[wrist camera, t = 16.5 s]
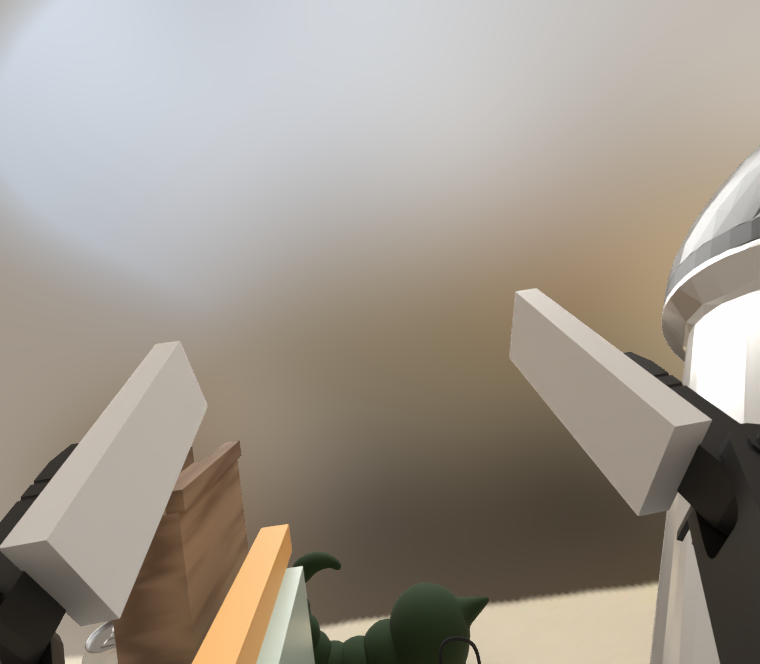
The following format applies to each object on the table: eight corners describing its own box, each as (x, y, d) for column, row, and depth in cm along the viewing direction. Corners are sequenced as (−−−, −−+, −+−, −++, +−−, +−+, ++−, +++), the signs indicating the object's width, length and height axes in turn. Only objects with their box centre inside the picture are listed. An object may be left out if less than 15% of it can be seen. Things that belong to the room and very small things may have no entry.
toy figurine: (292, 772, 38) (520, 704, 40) (253, 594, 38) (483, 533, 40) (304, 686, 47) (488, 633, 49) (273, 543, 47) (458, 495, 49)
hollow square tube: (291, 550, 38) (288, 523, 38) (188, 874, 15) (180, 807, 15) (264, 554, 38) (261, 528, 38) (119, 889, 15) (110, 820, 15)
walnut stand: (273, 704, 44) (240, 439, 44) (227, 895, 29) (179, 492, 29) (213, 714, 43) (181, 447, 44) (136, 914, 28) (87, 505, 29)
